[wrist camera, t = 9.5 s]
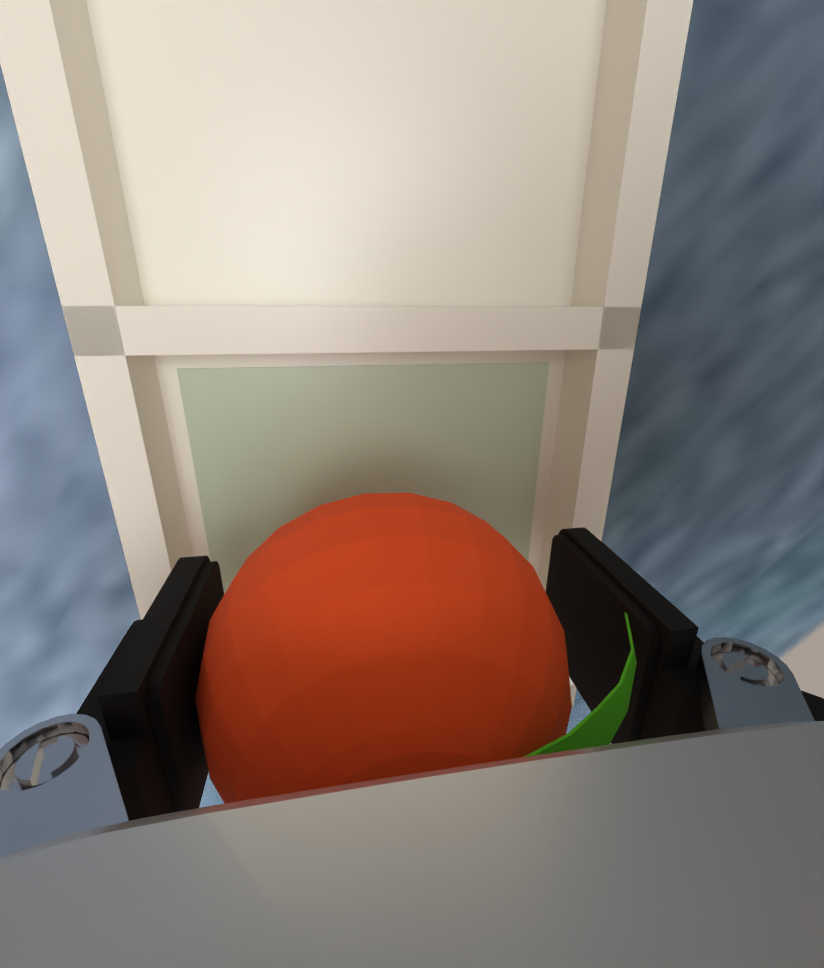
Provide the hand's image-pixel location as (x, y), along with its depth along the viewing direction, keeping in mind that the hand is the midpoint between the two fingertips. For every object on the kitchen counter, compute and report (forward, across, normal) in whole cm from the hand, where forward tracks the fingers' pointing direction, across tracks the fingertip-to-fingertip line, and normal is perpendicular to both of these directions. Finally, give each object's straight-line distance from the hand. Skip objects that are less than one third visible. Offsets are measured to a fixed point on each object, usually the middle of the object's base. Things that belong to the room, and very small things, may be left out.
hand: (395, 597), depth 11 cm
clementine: (+2, 0, 0) cm, 2 cm away
